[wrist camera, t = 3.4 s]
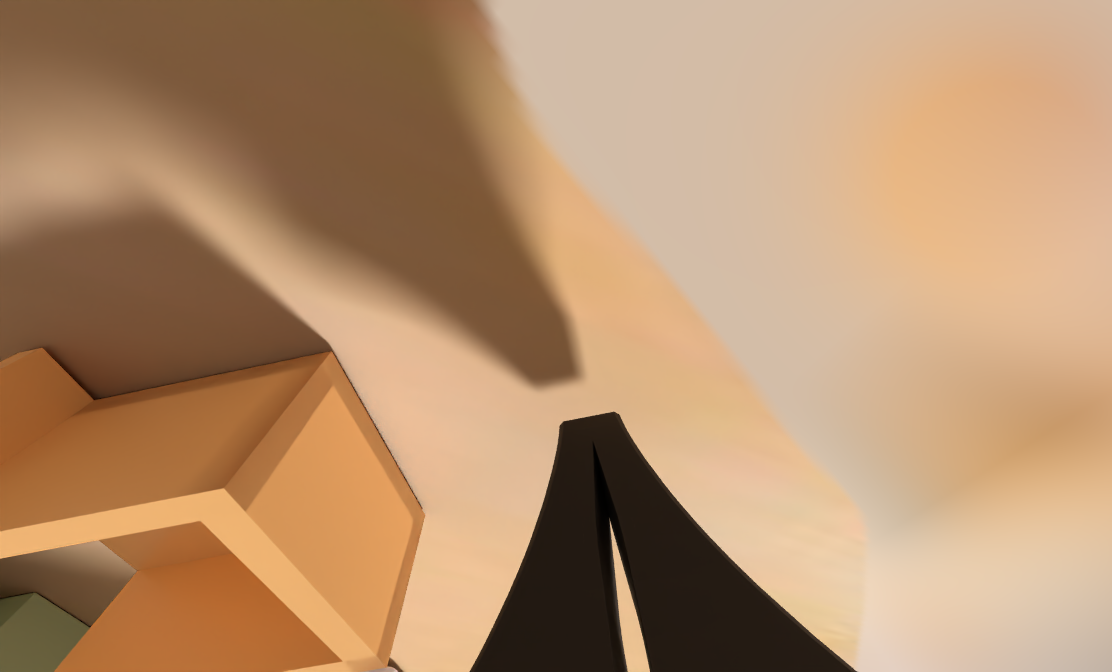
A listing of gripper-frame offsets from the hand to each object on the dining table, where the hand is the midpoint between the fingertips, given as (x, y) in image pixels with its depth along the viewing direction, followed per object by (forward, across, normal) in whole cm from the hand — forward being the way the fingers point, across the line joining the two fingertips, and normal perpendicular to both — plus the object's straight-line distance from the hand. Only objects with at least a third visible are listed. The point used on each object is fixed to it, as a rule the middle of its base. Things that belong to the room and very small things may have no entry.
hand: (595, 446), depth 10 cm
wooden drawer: (+2, +10, 0) cm, 10 cm away
